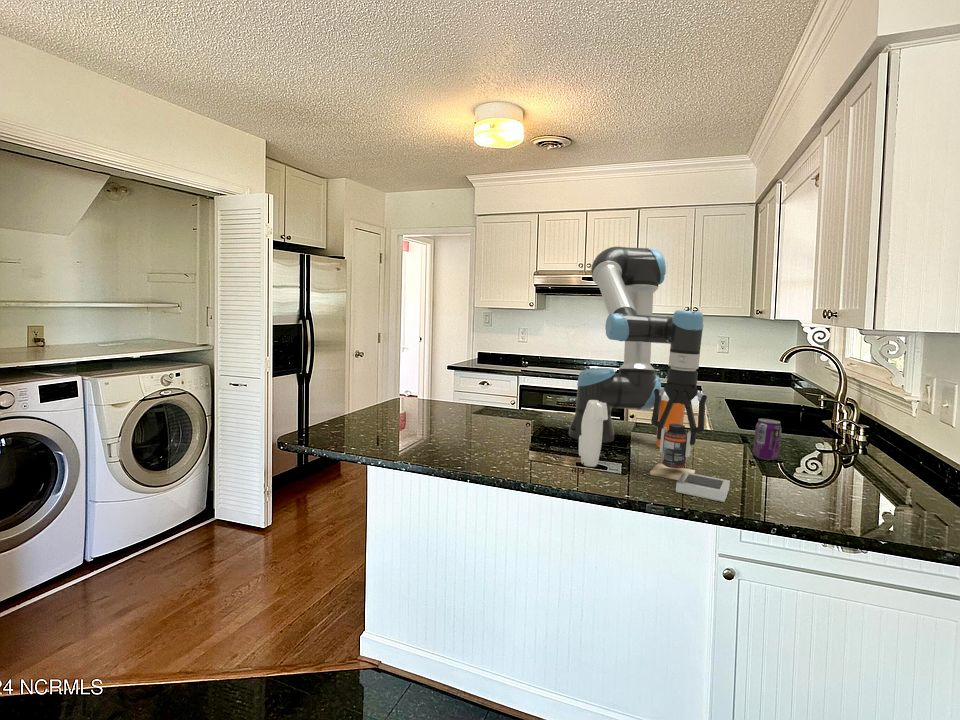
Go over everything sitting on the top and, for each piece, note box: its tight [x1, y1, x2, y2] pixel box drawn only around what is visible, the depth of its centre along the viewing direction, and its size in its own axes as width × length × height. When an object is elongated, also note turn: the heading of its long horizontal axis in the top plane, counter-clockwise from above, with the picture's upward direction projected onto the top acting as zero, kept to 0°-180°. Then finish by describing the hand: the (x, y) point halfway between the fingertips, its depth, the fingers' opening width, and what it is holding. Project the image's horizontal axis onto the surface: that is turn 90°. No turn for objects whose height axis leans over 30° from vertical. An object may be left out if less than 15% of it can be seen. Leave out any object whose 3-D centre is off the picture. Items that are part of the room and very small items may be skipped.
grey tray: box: [675, 472, 731, 503], centre depth 138 cm, size 11×11×2 cm
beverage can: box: [752, 418, 782, 461], centre depth 173 cm, size 7×7×12 cm
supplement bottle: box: [661, 423, 688, 468], centre depth 150 cm, size 6×6×11 cm
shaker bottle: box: [655, 392, 686, 449], centre depth 180 cm, size 9×9×20 cm
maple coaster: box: [649, 463, 696, 481], centre depth 151 cm, size 10×10×1 cm
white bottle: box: [578, 400, 608, 468], centre depth 154 cm, size 7×18×7 cm
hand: (674, 453), depth 151 cm, fingers closed on supplement bottle, 6 cm apart
